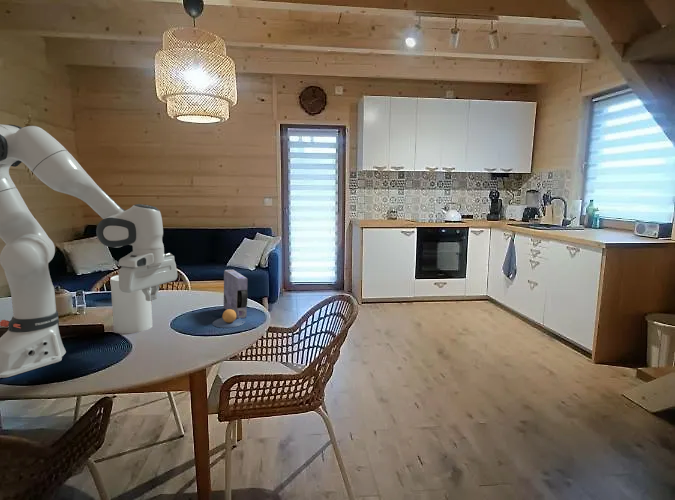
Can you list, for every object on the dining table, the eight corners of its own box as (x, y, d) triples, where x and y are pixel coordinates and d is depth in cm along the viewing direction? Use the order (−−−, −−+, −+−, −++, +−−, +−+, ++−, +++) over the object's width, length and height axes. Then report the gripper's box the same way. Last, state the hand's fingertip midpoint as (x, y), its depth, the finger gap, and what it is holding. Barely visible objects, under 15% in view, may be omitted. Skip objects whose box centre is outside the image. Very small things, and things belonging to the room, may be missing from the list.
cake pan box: (248, 318, 178) (248, 277, 176) (237, 320, 176) (236, 278, 173) (233, 306, 194) (233, 268, 192) (223, 308, 192) (222, 269, 189)
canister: (108, 327, 165) (105, 276, 162) (144, 319, 174) (141, 271, 171) (121, 336, 155) (117, 282, 152) (158, 327, 165) (155, 277, 162)
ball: (231, 311, 169) (240, 310, 174) (220, 308, 171) (229, 307, 176) (229, 324, 169) (238, 323, 174) (218, 322, 171) (227, 320, 176)
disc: (232, 329, 164) (232, 329, 164) (205, 325, 169) (205, 324, 169) (251, 320, 176) (251, 319, 176) (225, 316, 181) (225, 315, 181)
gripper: (166, 251, 143) (168, 291, 145) (113, 261, 124) (116, 306, 127) (181, 252, 141) (182, 293, 143) (129, 263, 122) (132, 309, 124)
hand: (151, 299), depth 135 cm, fingers closed
